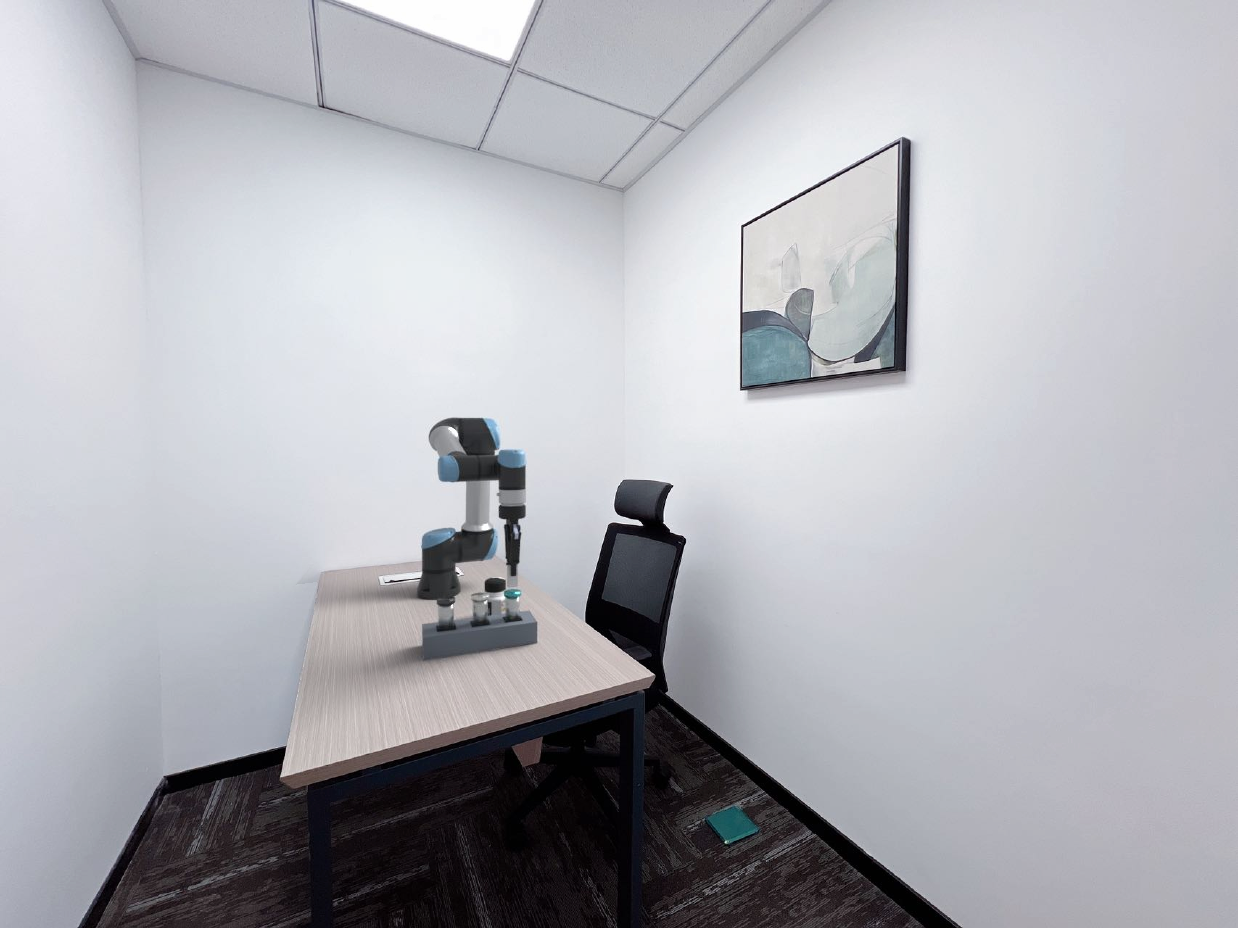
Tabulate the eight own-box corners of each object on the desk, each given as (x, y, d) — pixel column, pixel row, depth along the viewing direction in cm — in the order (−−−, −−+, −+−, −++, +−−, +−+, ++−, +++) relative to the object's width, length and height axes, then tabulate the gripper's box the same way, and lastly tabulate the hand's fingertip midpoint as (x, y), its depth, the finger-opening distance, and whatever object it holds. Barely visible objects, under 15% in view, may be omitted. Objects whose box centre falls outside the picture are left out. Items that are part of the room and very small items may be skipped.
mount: (422, 645, 140) (422, 624, 140) (529, 629, 152) (529, 610, 152) (423, 660, 131) (423, 637, 131) (537, 642, 143) (537, 621, 142)
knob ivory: (470, 622, 142) (470, 593, 142) (487, 620, 144) (487, 591, 144) (472, 628, 138) (472, 598, 138) (490, 626, 140) (490, 596, 139)
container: (501, 624, 156) (501, 582, 155) (478, 622, 158) (478, 581, 157) (511, 615, 164) (511, 576, 163) (489, 613, 165) (489, 574, 165)
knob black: (436, 627, 139) (436, 597, 139) (454, 624, 141) (454, 595, 140) (437, 633, 135) (437, 602, 134) (456, 631, 136) (455, 600, 136)
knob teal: (502, 618, 146) (502, 590, 145) (519, 616, 148) (519, 588, 147) (505, 624, 142) (505, 594, 141) (522, 622, 143) (522, 593, 143)
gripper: (494, 501, 147) (495, 581, 149) (502, 507, 135) (503, 594, 137) (520, 500, 150) (520, 578, 152) (530, 506, 138) (530, 591, 140)
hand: (512, 586), depth 144 cm, fingers closed
